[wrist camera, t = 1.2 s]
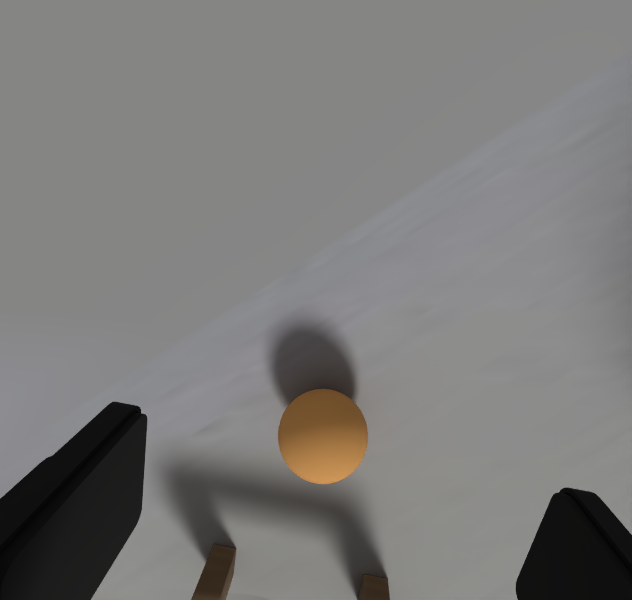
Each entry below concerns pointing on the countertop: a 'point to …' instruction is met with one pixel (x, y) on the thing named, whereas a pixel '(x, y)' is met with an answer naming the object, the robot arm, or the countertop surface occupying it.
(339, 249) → the countertop surface
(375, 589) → the bridge
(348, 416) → the ball
